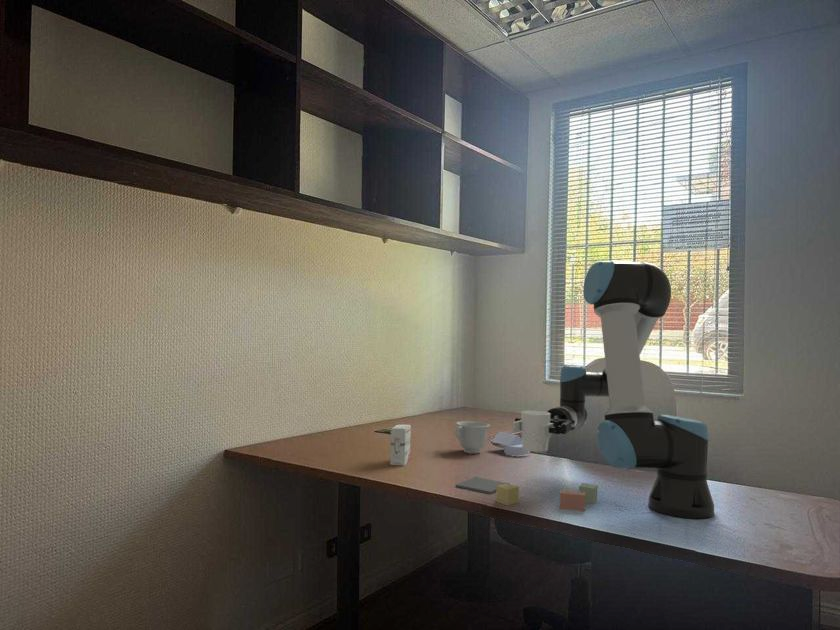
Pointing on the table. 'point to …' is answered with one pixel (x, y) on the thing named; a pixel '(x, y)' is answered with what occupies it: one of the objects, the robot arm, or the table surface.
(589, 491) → the sage block
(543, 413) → the white cup
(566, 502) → the brick-red long block
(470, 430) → the teacup
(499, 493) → the mustard block
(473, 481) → the slate coaster
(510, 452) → the wedge on round base
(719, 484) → the table surface
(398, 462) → the ink box
